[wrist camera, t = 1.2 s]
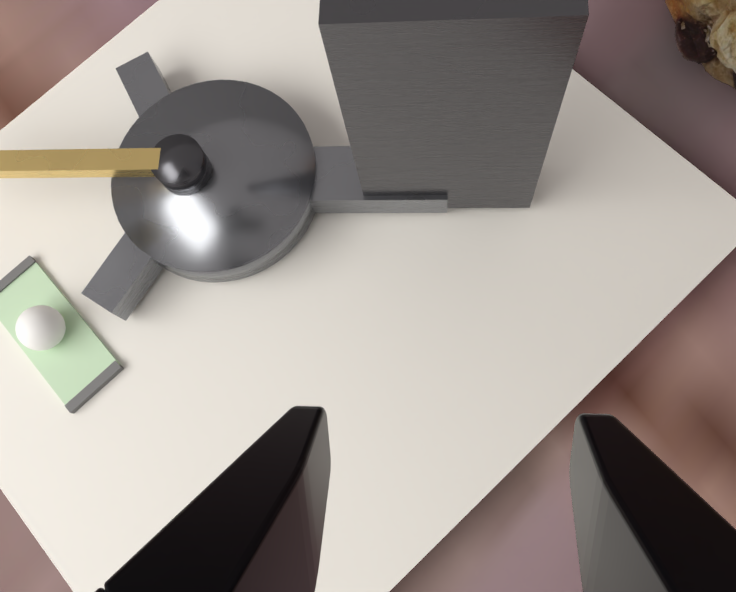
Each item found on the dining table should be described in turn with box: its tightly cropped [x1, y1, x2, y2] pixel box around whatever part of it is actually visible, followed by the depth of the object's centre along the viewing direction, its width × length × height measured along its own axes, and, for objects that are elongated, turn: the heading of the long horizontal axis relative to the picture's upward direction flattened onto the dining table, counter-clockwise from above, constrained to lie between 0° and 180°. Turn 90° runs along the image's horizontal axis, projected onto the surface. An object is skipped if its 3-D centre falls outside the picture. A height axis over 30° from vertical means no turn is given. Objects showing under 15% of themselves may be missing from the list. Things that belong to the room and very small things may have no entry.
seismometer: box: [0, 0, 589, 321], centre depth 18 cm, size 19×9×9 cm, turn 88°
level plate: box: [0, 0, 736, 592], centre depth 22 cm, size 20×22×2 cm
